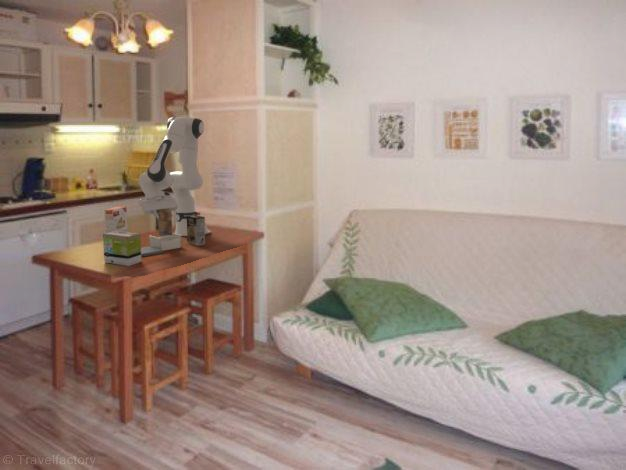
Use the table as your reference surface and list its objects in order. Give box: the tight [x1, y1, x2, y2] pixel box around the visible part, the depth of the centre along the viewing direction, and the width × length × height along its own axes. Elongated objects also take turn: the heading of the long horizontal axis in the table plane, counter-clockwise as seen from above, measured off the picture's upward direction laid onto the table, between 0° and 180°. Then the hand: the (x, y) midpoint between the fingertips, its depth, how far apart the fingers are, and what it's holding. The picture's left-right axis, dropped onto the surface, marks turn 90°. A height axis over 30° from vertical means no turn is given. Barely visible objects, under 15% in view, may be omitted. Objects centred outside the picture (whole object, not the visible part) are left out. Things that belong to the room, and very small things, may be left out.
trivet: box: [141, 245, 164, 258], centre depth 293 cm, size 14×14×2 cm
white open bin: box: [148, 232, 182, 252], centre depth 306 cm, size 13×11×7 cm
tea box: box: [102, 231, 142, 267], centre depth 271 cm, size 15×10×15 cm
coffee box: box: [186, 215, 206, 247], centre depth 315 cm, size 9×6×16 cm
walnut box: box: [157, 209, 173, 237], centre depth 304 cm, size 6×4×14 cm, turn 135°
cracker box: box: [104, 206, 128, 234], centre depth 311 cm, size 14×6×21 cm, turn 168°
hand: (165, 217), depth 303 cm, fingers closed on walnut box, 6 cm apart
